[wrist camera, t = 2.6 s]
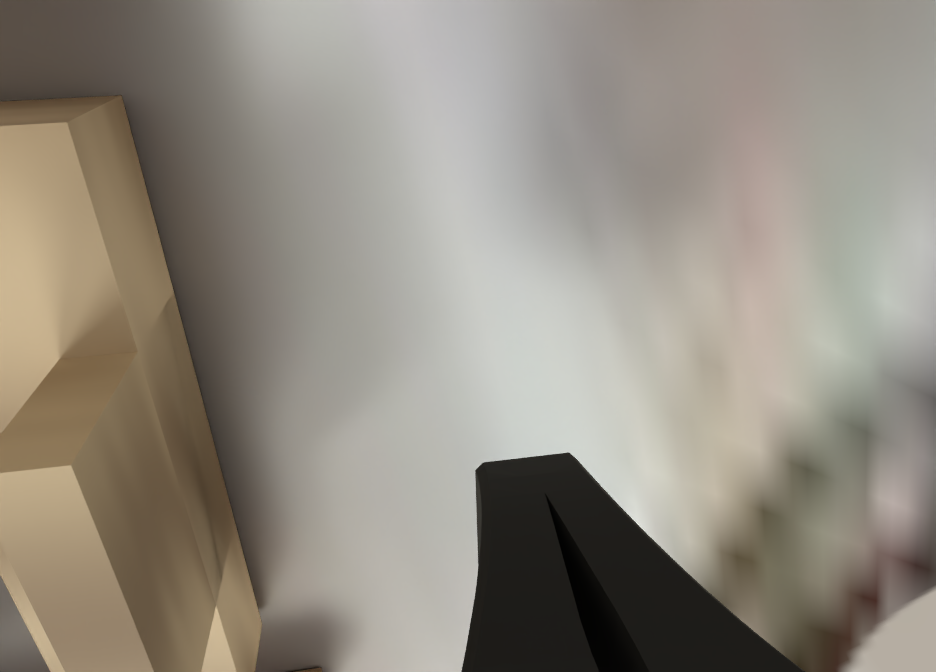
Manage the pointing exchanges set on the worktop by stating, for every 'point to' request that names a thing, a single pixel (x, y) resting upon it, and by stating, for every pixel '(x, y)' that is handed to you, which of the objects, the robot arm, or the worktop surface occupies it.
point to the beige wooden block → (105, 416)
